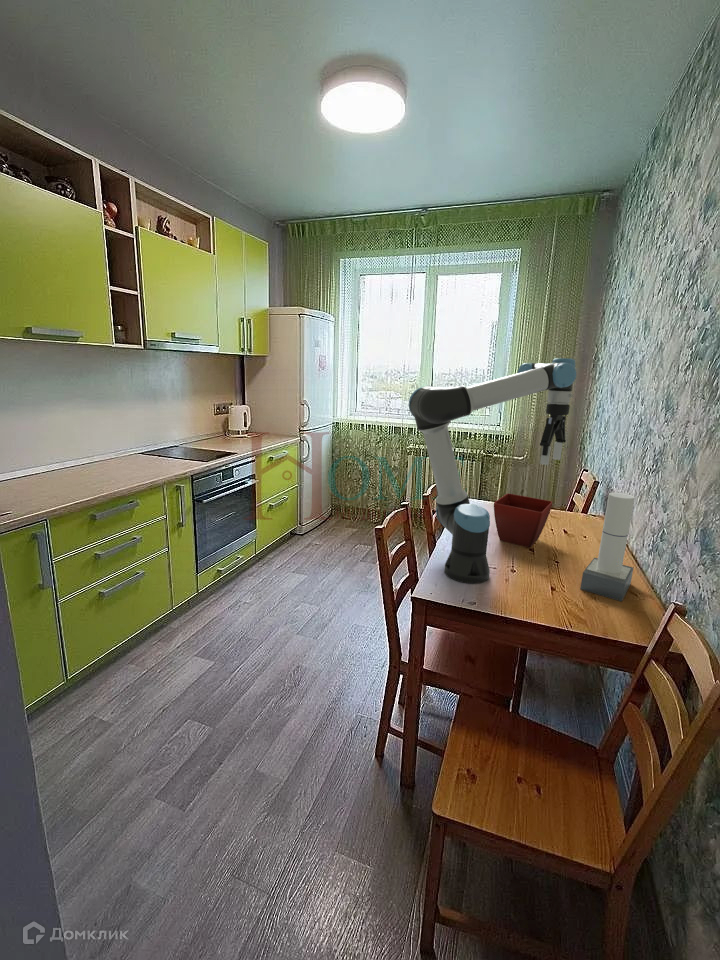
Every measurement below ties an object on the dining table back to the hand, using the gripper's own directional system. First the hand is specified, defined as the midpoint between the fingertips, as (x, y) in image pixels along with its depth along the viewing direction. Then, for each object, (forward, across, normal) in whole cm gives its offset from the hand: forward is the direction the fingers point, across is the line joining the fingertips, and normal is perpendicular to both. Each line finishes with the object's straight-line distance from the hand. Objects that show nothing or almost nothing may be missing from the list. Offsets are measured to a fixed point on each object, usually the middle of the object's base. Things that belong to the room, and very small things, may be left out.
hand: (550, 461), depth 163 cm
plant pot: (+37, +10, +11) cm, 40 cm away
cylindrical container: (+30, -11, -26) cm, 42 cm away
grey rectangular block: (+37, -11, -26) cm, 46 cm away
